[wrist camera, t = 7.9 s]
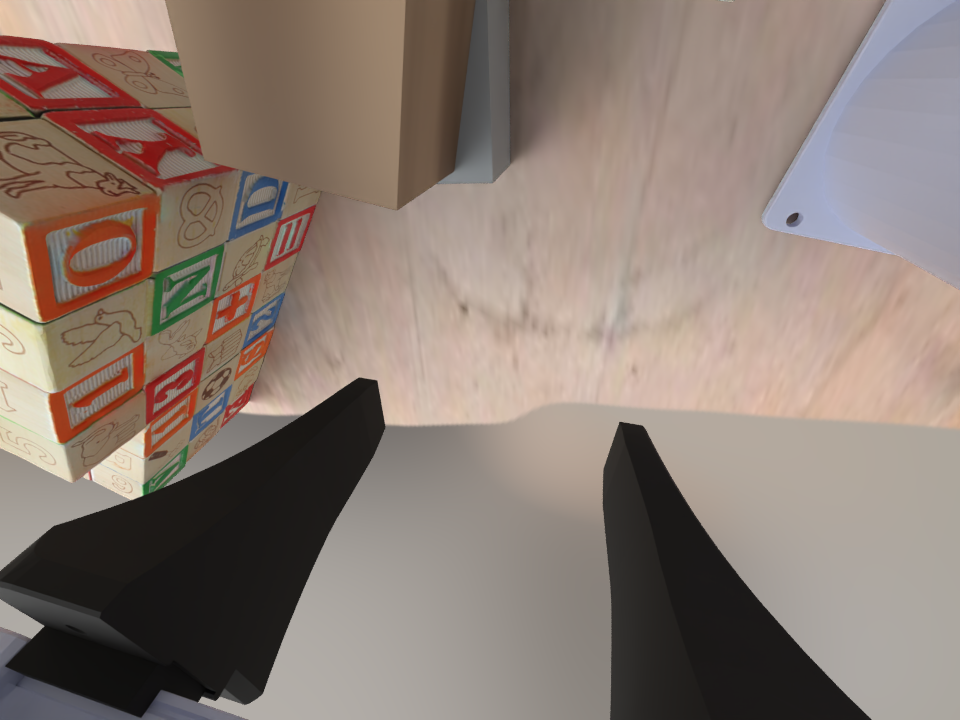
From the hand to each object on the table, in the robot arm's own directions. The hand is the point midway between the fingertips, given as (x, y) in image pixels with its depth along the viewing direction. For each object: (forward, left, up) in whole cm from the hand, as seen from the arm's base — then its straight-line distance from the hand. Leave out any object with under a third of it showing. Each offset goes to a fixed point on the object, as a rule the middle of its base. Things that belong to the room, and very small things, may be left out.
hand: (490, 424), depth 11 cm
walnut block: (+6, -8, -6) cm, 11 cm away
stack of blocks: (+17, +4, -10) cm, 20 cm away
